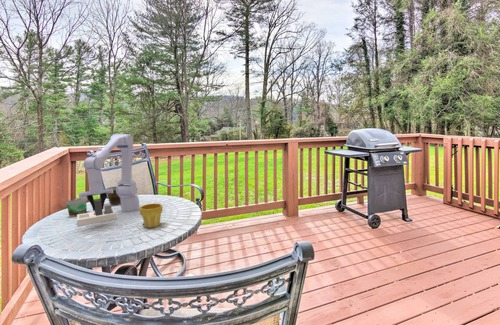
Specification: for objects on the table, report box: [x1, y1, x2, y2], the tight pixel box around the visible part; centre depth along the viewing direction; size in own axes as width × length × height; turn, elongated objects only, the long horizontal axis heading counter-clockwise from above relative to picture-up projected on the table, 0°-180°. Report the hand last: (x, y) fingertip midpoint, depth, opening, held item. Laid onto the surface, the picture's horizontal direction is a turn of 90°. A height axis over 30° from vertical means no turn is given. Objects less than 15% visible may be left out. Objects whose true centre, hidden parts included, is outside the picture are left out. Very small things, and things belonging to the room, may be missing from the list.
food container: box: [65, 197, 89, 218], centre depth 158 cm, size 12×6×10 cm, turn 168°
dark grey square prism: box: [93, 198, 103, 216], centre depth 139 cm, size 3×4×7 cm
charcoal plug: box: [103, 202, 113, 214], centre depth 151 cm, size 3×4×7 cm
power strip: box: [76, 208, 117, 227], centre depth 148 cm, size 17×10×5 cm, turn 122°
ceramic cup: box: [106, 186, 121, 206], centre depth 178 cm, size 13×10×10 cm
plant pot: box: [139, 202, 163, 228], centre depth 141 cm, size 10×10×10 cm
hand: (98, 209), depth 139 cm, fingers closed on dark grey square prism, 3 cm apart
